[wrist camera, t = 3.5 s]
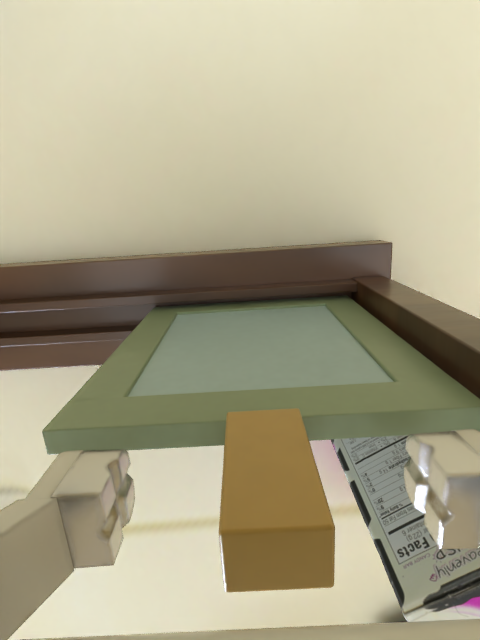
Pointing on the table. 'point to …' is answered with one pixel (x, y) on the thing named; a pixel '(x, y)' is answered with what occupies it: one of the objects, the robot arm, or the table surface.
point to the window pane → (263, 414)
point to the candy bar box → (408, 535)
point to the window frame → (214, 300)
